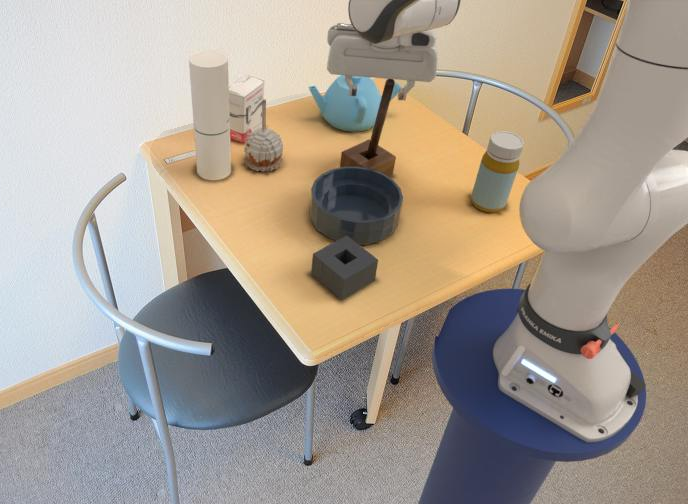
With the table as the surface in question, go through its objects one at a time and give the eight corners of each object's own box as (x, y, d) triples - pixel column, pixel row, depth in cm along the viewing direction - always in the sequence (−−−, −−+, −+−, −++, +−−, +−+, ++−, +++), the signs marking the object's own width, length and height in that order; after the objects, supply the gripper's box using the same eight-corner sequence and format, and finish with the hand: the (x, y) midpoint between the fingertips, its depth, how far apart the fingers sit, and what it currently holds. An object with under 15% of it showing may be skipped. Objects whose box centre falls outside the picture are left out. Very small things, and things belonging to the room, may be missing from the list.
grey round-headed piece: (258, 148, 144) (258, 86, 134) (288, 160, 141) (291, 97, 131) (238, 165, 139) (236, 102, 129) (269, 177, 136) (270, 114, 126)
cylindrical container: (235, 163, 140) (232, 52, 123) (225, 182, 135) (221, 69, 117) (203, 158, 141) (196, 47, 124) (192, 177, 136) (183, 64, 118)
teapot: (371, 145, 147) (377, 100, 139) (304, 121, 153) (307, 77, 145) (399, 115, 156) (407, 72, 149) (336, 94, 163) (340, 51, 155)
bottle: (474, 189, 136) (493, 126, 126) (508, 199, 134) (529, 136, 124) (466, 207, 132) (484, 143, 121) (500, 218, 130) (522, 154, 119)
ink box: (244, 144, 145) (243, 96, 137) (225, 137, 147) (223, 89, 139) (264, 126, 151) (265, 79, 142) (246, 120, 152) (245, 73, 144)
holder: (392, 176, 138) (396, 156, 135) (365, 190, 135) (368, 170, 131) (366, 158, 143) (369, 139, 139) (339, 171, 139) (341, 151, 136)
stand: (374, 280, 116) (378, 259, 112) (341, 300, 112) (344, 279, 108) (344, 255, 120) (346, 235, 117) (310, 274, 116) (312, 253, 113)
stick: (371, 175, 139) (397, 80, 124) (365, 177, 138) (391, 81, 123) (365, 170, 140) (391, 75, 125) (359, 172, 139) (384, 77, 124)
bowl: (416, 223, 127) (421, 198, 123) (351, 259, 119) (355, 234, 115) (355, 180, 137) (358, 156, 133) (291, 211, 129) (293, 187, 125)
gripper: (327, 29, 115) (322, 100, 124) (445, 38, 114) (430, 109, 123) (329, 15, 119) (324, 84, 129) (442, 23, 118) (428, 93, 128)
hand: (377, 96), depth 126 cm, fingers open, 8 cm apart
